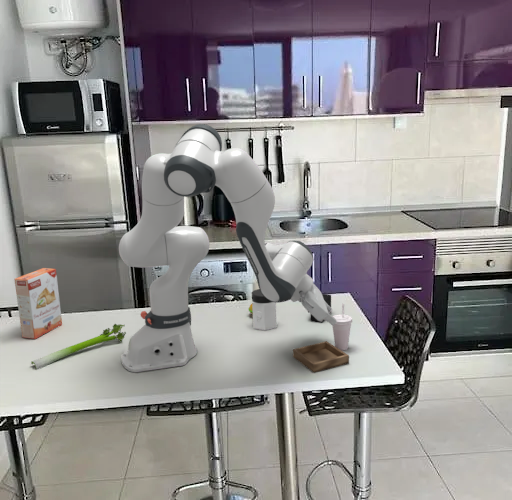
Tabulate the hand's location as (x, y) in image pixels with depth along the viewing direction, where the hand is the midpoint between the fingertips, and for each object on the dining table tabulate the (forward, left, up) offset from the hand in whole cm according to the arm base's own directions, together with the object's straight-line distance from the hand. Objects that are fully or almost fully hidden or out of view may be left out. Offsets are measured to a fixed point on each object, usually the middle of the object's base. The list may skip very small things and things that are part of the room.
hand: (332, 317), depth 158 cm
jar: (-9, +28, -10) cm, 31 cm away
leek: (-68, +37, -11) cm, 78 cm away
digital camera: (+11, +25, -11) cm, 30 cm away
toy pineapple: (-6, +39, -11) cm, 40 cm away
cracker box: (-77, +63, -10) cm, 100 cm away
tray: (-7, -4, -10) cm, 13 cm away
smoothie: (+3, 0, -10) cm, 11 cm away
